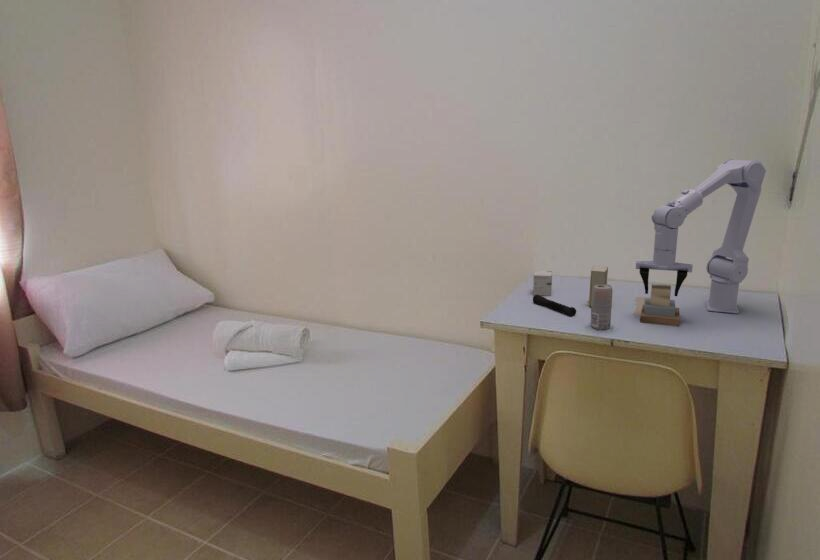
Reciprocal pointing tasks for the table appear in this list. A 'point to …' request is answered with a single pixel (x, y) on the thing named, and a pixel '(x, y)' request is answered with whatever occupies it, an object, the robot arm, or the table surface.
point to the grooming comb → (639, 305)
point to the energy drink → (601, 306)
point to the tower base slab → (660, 318)
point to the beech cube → (660, 295)
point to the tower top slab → (659, 309)
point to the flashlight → (554, 305)
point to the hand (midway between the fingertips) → (661, 294)
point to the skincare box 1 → (542, 283)
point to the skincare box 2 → (597, 278)
